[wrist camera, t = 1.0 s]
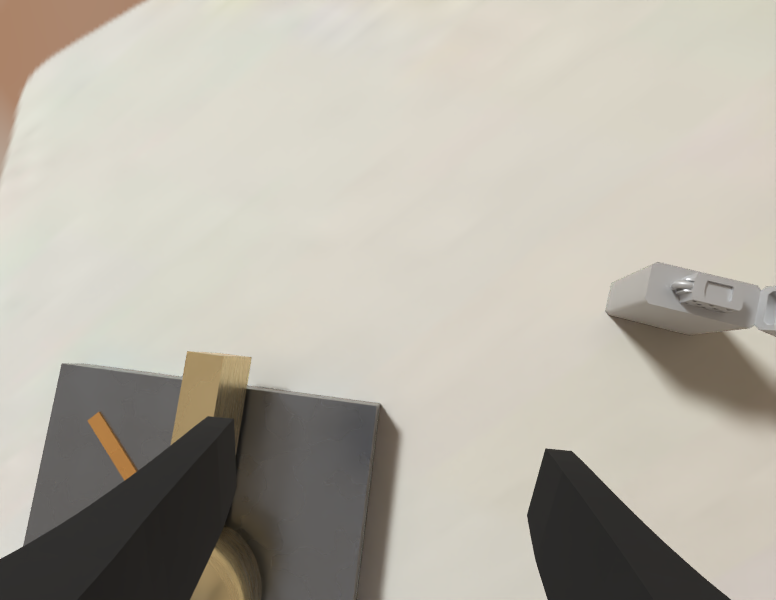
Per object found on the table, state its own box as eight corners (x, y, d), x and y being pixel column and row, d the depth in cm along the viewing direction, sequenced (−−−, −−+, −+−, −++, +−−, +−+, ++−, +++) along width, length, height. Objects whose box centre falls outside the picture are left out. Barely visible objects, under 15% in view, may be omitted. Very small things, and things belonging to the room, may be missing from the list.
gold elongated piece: (250, 674, 20) (219, 727, 17) (122, 648, 21) (71, 694, 18) (296, 363, 22) (275, 362, 19) (176, 347, 23) (137, 345, 20)
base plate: (336, 762, 21) (319, 829, 18) (16, 691, 23) (-48, 741, 20) (380, 403, 23) (372, 409, 20) (83, 363, 25) (34, 363, 22)
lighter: (604, 313, 23) (696, 287, 15) (612, 280, 23) (707, 235, 15) (758, 352, 22) (943, 346, 14) (765, 317, 22) (951, 290, 14)
